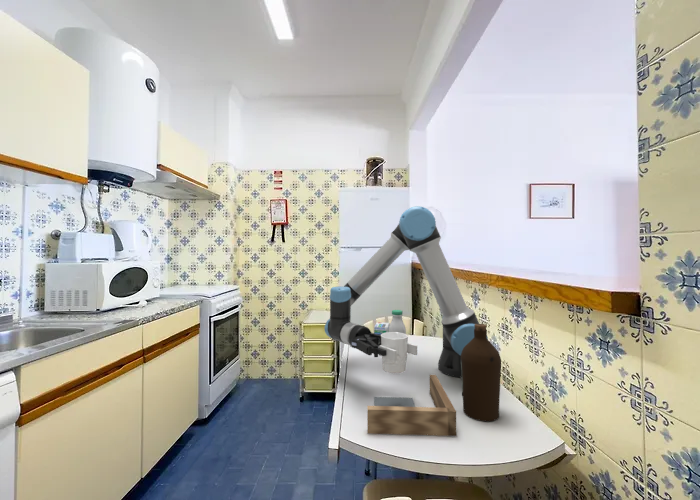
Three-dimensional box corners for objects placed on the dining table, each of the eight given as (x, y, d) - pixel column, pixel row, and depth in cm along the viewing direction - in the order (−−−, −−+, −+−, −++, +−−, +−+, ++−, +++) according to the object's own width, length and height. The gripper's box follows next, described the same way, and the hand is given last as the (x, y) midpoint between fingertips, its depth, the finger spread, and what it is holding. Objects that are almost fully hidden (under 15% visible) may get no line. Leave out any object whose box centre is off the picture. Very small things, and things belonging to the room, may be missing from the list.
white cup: (401, 376, 89) (401, 340, 89) (376, 370, 93) (376, 336, 93) (411, 367, 96) (411, 334, 96) (387, 363, 100) (387, 330, 100)
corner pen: (435, 393, 103) (435, 374, 103) (456, 436, 79) (456, 411, 79) (367, 391, 105) (367, 373, 105) (367, 433, 81) (367, 409, 81)
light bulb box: (388, 350, 149) (388, 327, 149) (373, 349, 151) (373, 326, 151) (390, 343, 160) (389, 322, 160) (376, 343, 161) (376, 321, 161)
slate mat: (412, 398, 100) (412, 397, 100) (418, 418, 88) (418, 417, 88) (373, 397, 100) (373, 396, 100) (374, 417, 88) (374, 416, 88)
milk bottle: (408, 355, 142) (408, 310, 142) (401, 360, 135) (401, 312, 136) (392, 352, 146) (392, 308, 146) (385, 357, 140) (385, 311, 140)
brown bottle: (507, 413, 90) (507, 324, 91) (491, 427, 83) (491, 331, 83) (471, 400, 98) (471, 319, 98) (453, 412, 91) (453, 324, 91)
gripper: (379, 342, 115) (430, 359, 96) (331, 352, 103) (379, 374, 84) (379, 321, 115) (430, 334, 97) (331, 329, 103) (379, 346, 84)
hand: (406, 353), depth 90 cm, fingers closed on white cup, 8 cm apart
